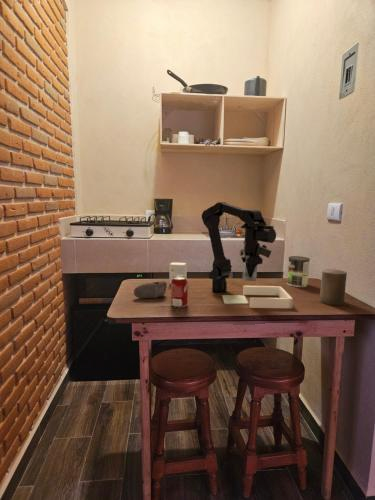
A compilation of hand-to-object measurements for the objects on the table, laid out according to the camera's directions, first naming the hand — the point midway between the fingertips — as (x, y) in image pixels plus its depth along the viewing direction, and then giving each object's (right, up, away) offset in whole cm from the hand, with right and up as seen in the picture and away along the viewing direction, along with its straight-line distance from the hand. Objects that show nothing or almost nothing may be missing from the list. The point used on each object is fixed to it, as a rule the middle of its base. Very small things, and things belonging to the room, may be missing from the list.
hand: (249, 275), depth 135 cm
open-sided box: (+7, -11, +2) cm, 13 cm away
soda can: (-30, -12, -6) cm, 33 cm away
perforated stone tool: (-43, -10, +4) cm, 44 cm away
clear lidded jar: (+30, -7, +28) cm, 42 cm away
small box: (-32, -6, +28) cm, 43 cm away
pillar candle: (+36, -12, +1) cm, 38 cm away
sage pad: (-6, -11, +2) cm, 13 cm away
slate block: (0, -2, 0) cm, 2 cm away
